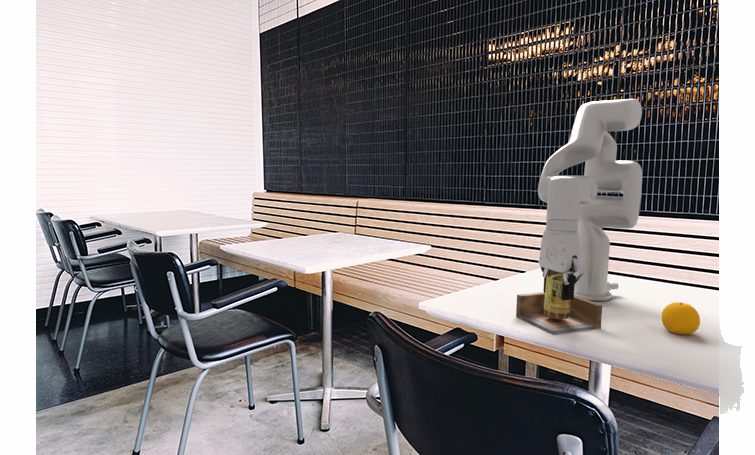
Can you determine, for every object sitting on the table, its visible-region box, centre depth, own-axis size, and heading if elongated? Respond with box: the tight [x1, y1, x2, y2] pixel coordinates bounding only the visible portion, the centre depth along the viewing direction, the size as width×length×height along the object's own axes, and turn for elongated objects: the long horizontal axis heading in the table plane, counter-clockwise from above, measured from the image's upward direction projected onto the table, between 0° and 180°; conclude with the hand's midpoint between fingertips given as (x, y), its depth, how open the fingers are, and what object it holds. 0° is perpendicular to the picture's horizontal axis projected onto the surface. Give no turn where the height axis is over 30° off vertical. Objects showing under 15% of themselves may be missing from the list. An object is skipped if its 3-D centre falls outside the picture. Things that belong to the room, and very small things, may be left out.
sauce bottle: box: [544, 269, 571, 320], centre depth 119 cm, size 6×6×20 cm
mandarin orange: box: [661, 301, 701, 335], centre depth 115 cm, size 8×8×8 cm
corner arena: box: [515, 292, 603, 335], centre depth 121 cm, size 15×15×6 cm
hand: (558, 295), depth 120 cm, fingers closed on sauce bottle, 6 cm apart
